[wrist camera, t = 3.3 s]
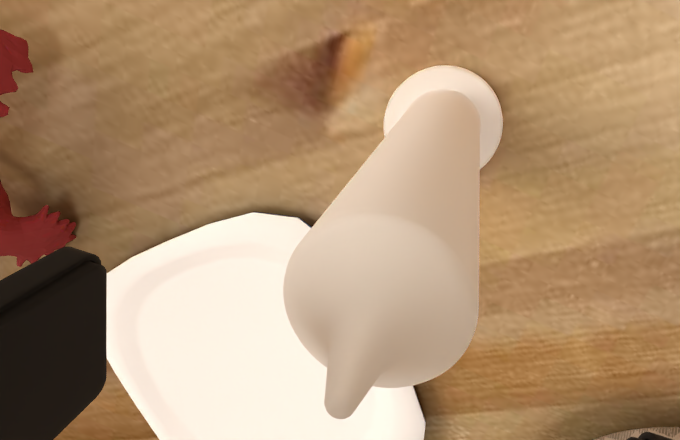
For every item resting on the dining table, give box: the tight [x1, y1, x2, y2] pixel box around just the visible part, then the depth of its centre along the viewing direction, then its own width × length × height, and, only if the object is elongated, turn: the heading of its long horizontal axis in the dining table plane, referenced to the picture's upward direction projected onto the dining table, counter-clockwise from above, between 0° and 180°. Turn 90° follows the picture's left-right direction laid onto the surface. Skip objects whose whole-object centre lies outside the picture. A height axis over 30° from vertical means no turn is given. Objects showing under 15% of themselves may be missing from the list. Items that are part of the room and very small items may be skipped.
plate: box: [106, 212, 426, 440], centre depth 41 cm, size 25×25×2 cm
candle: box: [283, 65, 503, 419], centre depth 19 cm, size 7×7×25 cm
